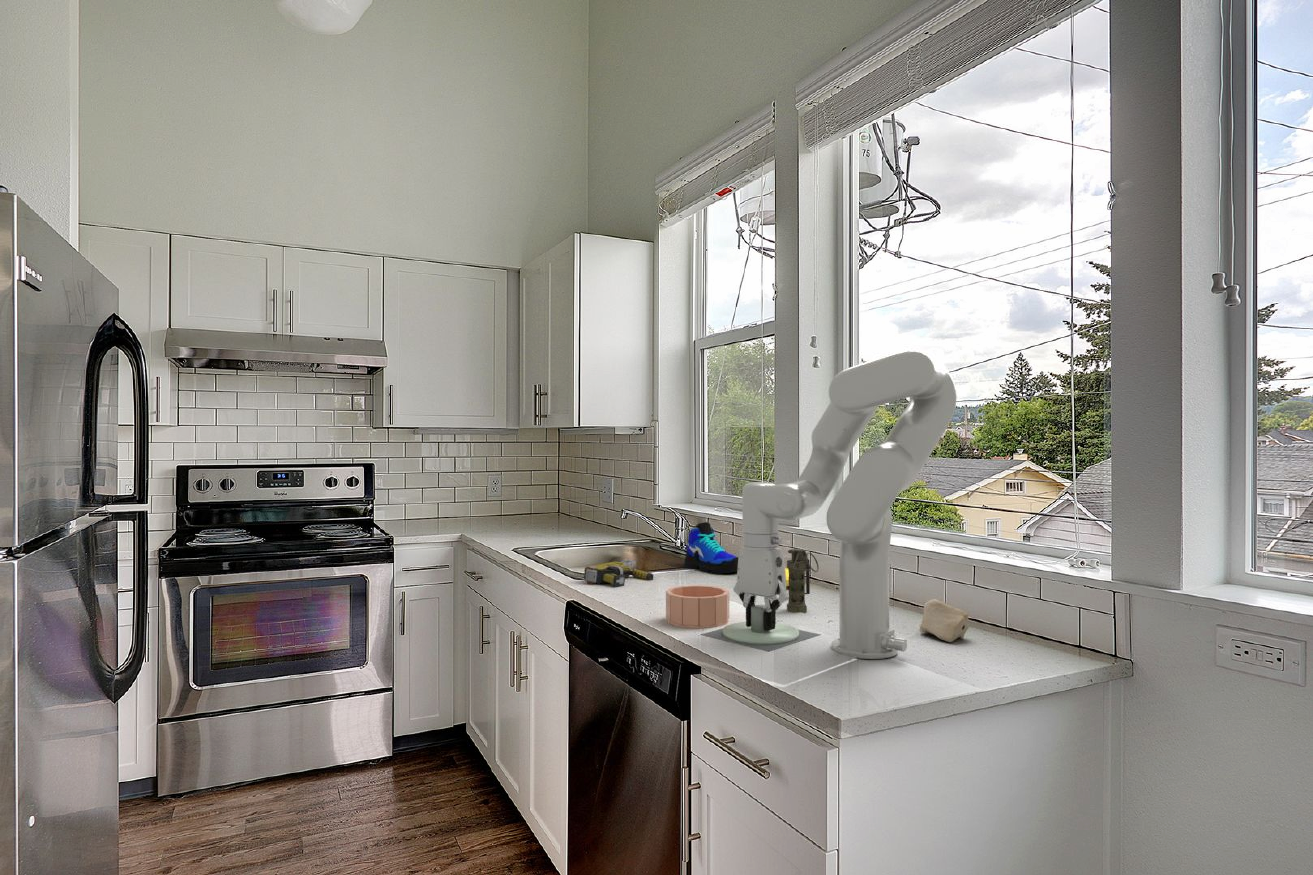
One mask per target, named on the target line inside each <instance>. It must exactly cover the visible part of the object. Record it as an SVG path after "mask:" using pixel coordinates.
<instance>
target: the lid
mask: <svg viewBox="0 0 1313 875" xmlns="http://www.w3.org/2000/svg"><path fill="white" fill-rule="evenodd" d="M765 611H766V607H765V604H755V605H753V606H751V627H747V626H746V621H743V622H740V621H739V622H736V623H735V622H734V623H730V624H728V625H724V627H723V636H724V637H725V638H727V639H729V640H732V641H736V642H740V643H746V644H757V645H774V644H783V643H789V642H792V641H795V640H797V639H798V638H799V631H798V630H799V629H798V630H797V628H796V627H794V626H791V625H789V624H784V623H781V622H780V623H778V622H776V624H775V629H773V630H769V631H764V612H765Z"/></svg>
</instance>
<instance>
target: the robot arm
mask: <svg viewBox="0 0 1313 875" xmlns="http://www.w3.org/2000/svg"><path fill="white" fill-rule="evenodd" d="M953 379H954V378H953V377H952V375H951V373H950V372H949V370H948V369H947V367H946V366H945V364H944V363H942V361H940V359H938V358H937V357H936V356H934V355H931V354H929V353H927V352H924V351H921V350H916V349H905V350H901V351H897V352H895V353H891V354H888V355H885V356H883V357H879V358H875V359H873V360H870V361H866V362H864V363H861V364H858V365H854V366H851V367H847V368H845V369H843V370H841V371H839V372H837V374H835V376H834V377H833V378H832V380H831V381H830V384H829V386H828V387H829V388H828V396H829V401H830V403H829V404H828V405H827V407H826V409H825V411H824V412H823V413H822V415H821V417H820V419H819V420H818V421H817V423H816V424H815V427H814V428H813V430H812V433H811V445H812V450H811V455H810V457H809V458H808V459H809V460H808V461H807V464H806V466H805V467H804V468H803V470H802V472H801V474H800V475H799V477H798V478H797V480H796V481H794V482H790V483H780V484H776V483H774V482H768V481H764V482H762V481H758V482H757V481H756V482H754V481H752V482H747V483H746V484H744V485H743V487H742V545H741V546H740V549H739V554H738V557H739V559H738V570H737V572H736V583H735V585H734V587H733V592H734V593H735V594H736V595H737V596H738V597H739V599H740V601H742V607H743V608H745V622H746V626H747V627H751V606H753V605H756V602H757V597H763V600H764V605H765V607H766V611H765V612H764V631H769V630H773V629H775V624H776V623H777V621H776V617H777V616H776V613H777V612H776V611H778V610H779V608H780V607H781V606H782V605H783V604H785V603H786V602H787V601H789V593H788V591H787V587H786V571H785V568H786V565H785V563H786V562H785V558H784V553H783V552H784V551H783V549H782V548H781V547H779V545H782V544H783V538H781V537H779V519H780V520H785V521H797V520H800V519H803V518H805V517H809V516H813V515H814V514H816V513H817V512H818V511H819V510H820V508H821V507H822V506H823V505H824V504H825V502H826V500H827V498H828V497H829V495H830V493H832V491H833V490H834V488H835V486H836V485H837V482H838V481H839V479H840V477H841V475H842V473H843V470H844V468H845V466H846V464H847V461H848V459H849V456H850V454H851V452H852V450H853V449H854V447H855V445H856V444H857V442H858V441H859V439H860V437H861V435H862V434H863V433H864V431H865V429H866V427H868V425H869V423H870V422H871V420H872V418H873V417H874V415H876V414H875V413H876V412H877V410H878V408H879V406H882V405H885V404H889V403H892V402H895V401H900V400H903V399H906V398H909V401H908V404H907V406H906V408H905V409H904V411H903V412H902V413H901V415H900V416H899V417H898V419H897V420H896V422H895V424H894V425H893V427H892V428H891V430H890V431H889V433H888V435H887V437H886V438H885V439H884V441H883V442H882V443H881V444H877V445H874V446H872V447H870V448H869V449H867V450H865V451H864V453H862V454H861V455H860V457H858V459H857V460H856V462H855V463H854V465H853V467H852V468H851V469H850V471H849V473H847V474H848V475H847V476H846V478H845V480H844V481H843V483H841V485H840V487H839V489H838V491H837V492H836V493H835V495H834V497H833V499H832V500H831V502H830V504H829V506H828V508H827V512H826V525H827V528H828V530H829V532H830V535H832V536H833V538H835V540H837V541H839V542H840V548H839V571H838V572H839V638H836V639H834V640H833V641H832V642H831V649H832V650H833V651H834V652H836V653H839V654H841V655H844V656H849V657H855V659H864V660H880V659H888V658H892V657H894V656H896V655H897V654H898V652H903V653H904V652H906V650H907V648H908V640H907V639H906V638H900V637H896V635H895V629H893V628H890V554H891V553H890V552H891V538H892V527H893V526H892V525H893V517H892V510H891V507H892V505H893V503H895V502H894V501H896V499H897V497H898V495H900V493H902V492H904V491H906V490H908V489H909V488H910V487H911V486H912V485H913V484H914V482H915V481H916V479H917V478H918V476H919V474H920V473H921V470H922V469H923V467H924V466H925V464H926V463H927V461H928V459H929V457H930V456H931V454H932V453H933V451H934V450H935V448H936V446H937V445H938V443H939V441H940V439H941V438H942V436H943V434H944V433H945V431H946V430H947V428H948V426H949V424H950V423H951V421H952V419H953V416H954V413H955V411H956V405H957V389H956V384H955V382H954V380H953ZM777 595H778V597H777Z"/></svg>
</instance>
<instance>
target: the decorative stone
mask: <svg viewBox="0 0 1313 875" xmlns="http://www.w3.org/2000/svg"><path fill="white" fill-rule="evenodd" d="M922 614H923V615H922V616H923V617H922V621H921V624H920V625H919V628H920V630H921V632H922V633H929V634H931V635H933V636H936V638H938V639H940V640H942V641H945V642H947V643H952V642H954V641H955V640H957V639H958V638H961V639H964V636H965V634H966V633H967V631H968V630H969V629H970V628H969V627H970V626H969V624H970V623H969V613H967V612H965V611H964V610H962V609H959V608H957V607H954V606H951V605H948V604H947V603H946V602H942V601H940V600H938V599H936V598H932V599H930V600H928V601H926V602H925V603H924V605H923V613H922Z"/></svg>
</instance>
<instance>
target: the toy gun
mask: <svg viewBox="0 0 1313 875" xmlns="http://www.w3.org/2000/svg"><path fill="white" fill-rule="evenodd" d="M636 565H637V564H636V561H635V560H631V559H627V560H621V561H618V560H616V561H612V562H606V563H605V562H604V563H599V564H594V565H587V566H585V568H584V573H583V580H584V581H585V582H586V583H587V584H596V583H597V585H599V584H600V583H601V584H612V586H613V587H622V586H623V587H624V586H625V582H626V579H627V577H628V578H629V577H630V576H632V577H633V578H637V579H640V580H645V581H647V582H648V581H653V580H654V574H653V573H652V572H647V571H644V570H640V569H637V568H636ZM633 566H634V569H632V568H633Z"/></svg>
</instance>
